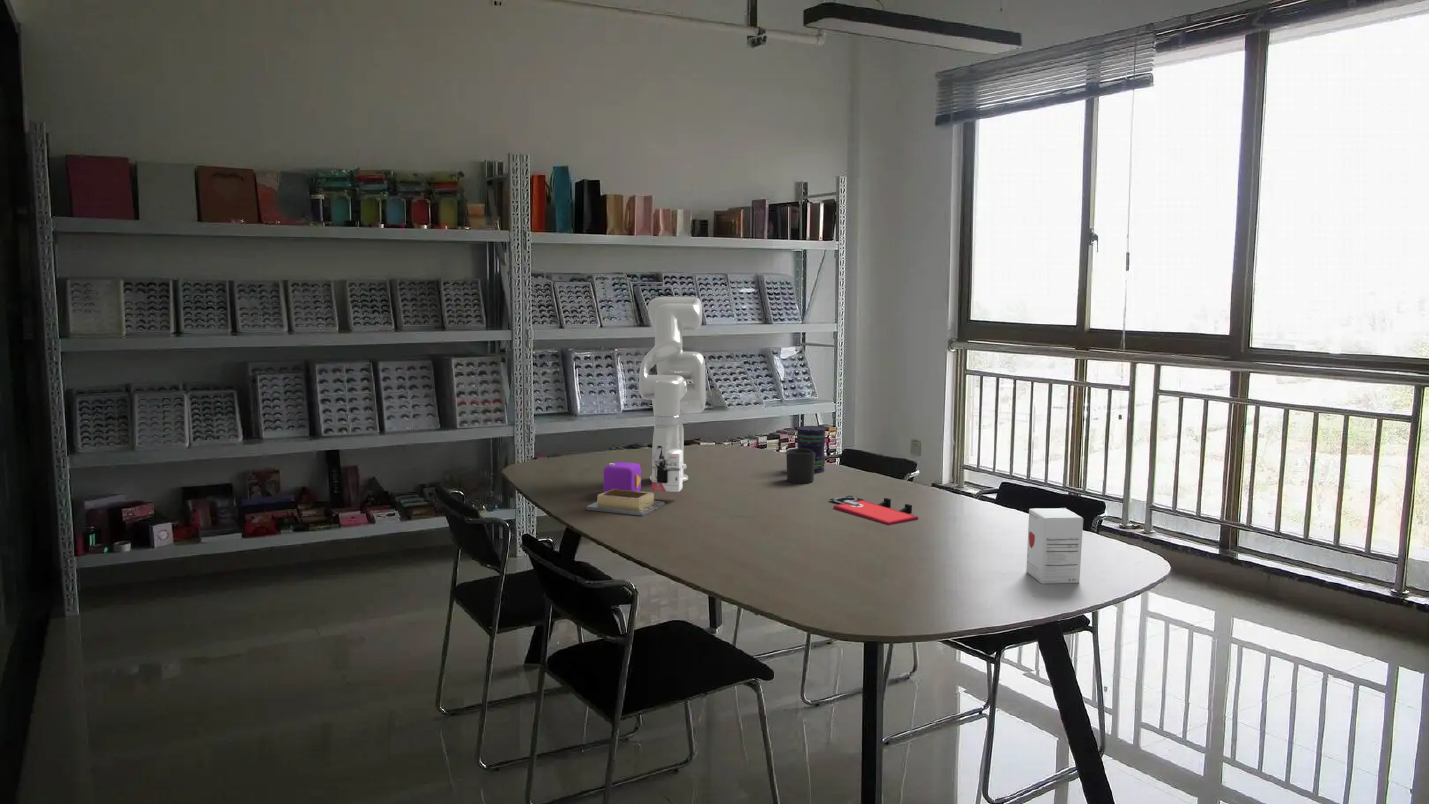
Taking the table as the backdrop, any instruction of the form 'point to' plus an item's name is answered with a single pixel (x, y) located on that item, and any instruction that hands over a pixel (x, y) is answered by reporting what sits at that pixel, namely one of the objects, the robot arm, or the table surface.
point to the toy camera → (622, 476)
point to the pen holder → (800, 465)
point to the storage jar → (813, 443)
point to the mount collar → (625, 502)
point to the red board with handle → (875, 510)
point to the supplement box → (1054, 545)
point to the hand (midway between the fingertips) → (667, 479)
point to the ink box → (670, 473)
